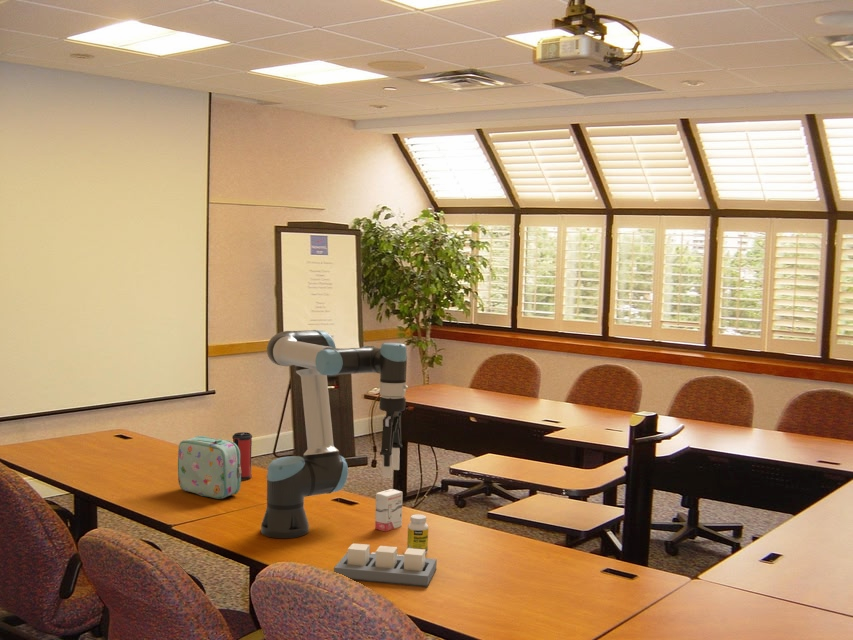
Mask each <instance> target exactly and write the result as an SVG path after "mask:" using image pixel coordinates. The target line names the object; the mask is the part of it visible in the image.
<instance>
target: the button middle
mask: <svg viewBox="0 0 853 640" xmlns="http://www.w3.org/2000/svg"><path fill="white" fill-rule="evenodd" d="M375 553H376V564H375V567H383V568H394V567H395V565H396V564H397V555H398V546H389V545H379V546H378V547H377V549H376V550H375Z"/></svg>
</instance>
